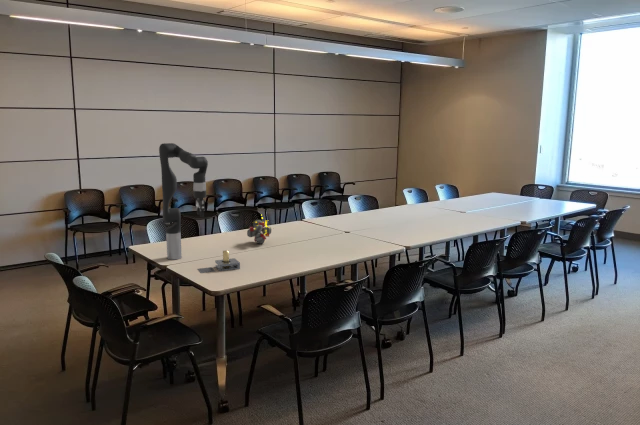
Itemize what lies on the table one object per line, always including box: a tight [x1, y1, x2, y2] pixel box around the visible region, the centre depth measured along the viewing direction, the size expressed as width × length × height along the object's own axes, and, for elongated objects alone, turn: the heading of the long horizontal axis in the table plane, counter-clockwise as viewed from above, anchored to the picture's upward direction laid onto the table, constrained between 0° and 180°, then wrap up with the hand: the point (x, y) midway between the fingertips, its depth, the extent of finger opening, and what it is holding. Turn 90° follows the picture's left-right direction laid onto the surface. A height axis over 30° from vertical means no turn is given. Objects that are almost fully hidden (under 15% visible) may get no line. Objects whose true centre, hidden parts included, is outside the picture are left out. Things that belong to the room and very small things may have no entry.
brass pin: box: [222, 249, 230, 268], centre depth 309 cm, size 4×4×11 cm
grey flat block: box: [214, 258, 241, 272], centre depth 310 cm, size 11×12×4 cm
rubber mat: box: [196, 267, 216, 274], centre depth 305 cm, size 10×9×1 cm
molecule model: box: [246, 214, 274, 245], centre depth 373 cm, size 25×21×23 cm
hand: (200, 216), depth 308 cm, fingers open, 8 cm apart
